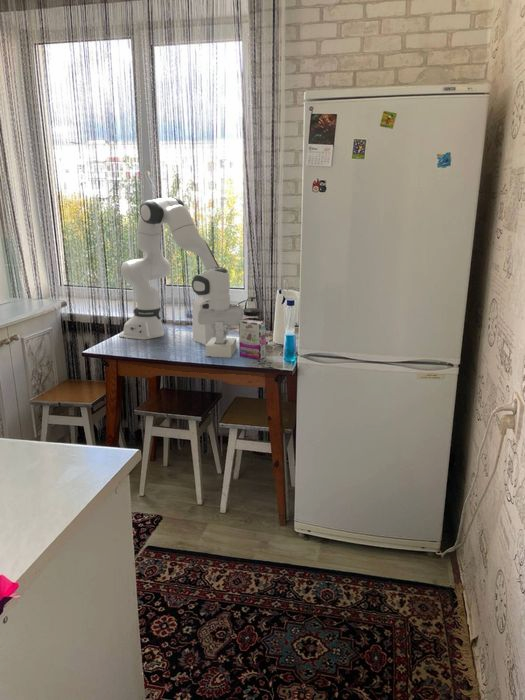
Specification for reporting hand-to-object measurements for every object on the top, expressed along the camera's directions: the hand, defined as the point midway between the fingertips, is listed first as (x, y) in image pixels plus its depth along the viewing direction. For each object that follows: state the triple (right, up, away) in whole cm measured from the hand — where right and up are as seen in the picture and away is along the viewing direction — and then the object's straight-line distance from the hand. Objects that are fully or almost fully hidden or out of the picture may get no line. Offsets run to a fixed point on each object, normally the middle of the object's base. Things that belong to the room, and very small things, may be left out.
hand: (221, 334), depth 236 cm
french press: (+14, -5, +15) cm, 20 cm away
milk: (-8, -3, +22) cm, 23 cm away
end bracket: (0, -6, +2) cm, 7 cm away
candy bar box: (+14, -10, -4) cm, 18 cm away
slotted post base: (0, -8, +3) cm, 9 cm away
